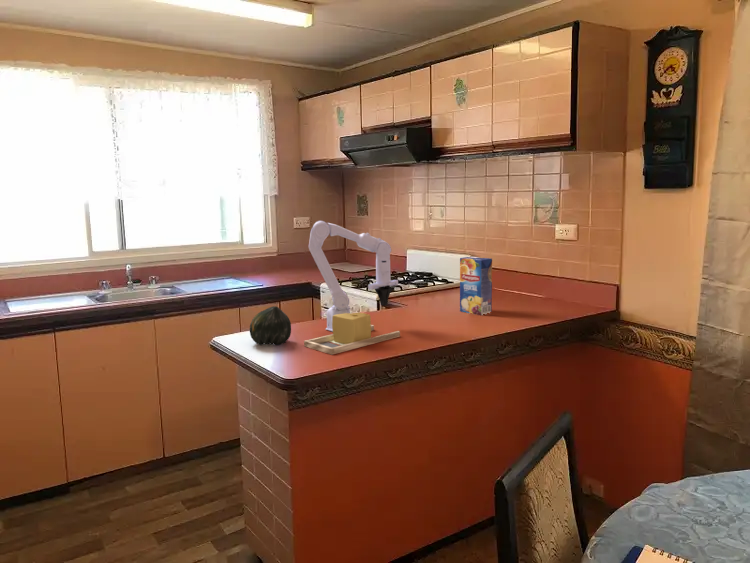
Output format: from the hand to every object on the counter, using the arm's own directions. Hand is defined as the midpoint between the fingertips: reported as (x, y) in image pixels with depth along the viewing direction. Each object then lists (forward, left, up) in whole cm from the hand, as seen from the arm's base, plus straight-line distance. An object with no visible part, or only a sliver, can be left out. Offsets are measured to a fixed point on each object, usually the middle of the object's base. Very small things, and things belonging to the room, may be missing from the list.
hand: (383, 305), depth 242 cm
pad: (+6, -22, -9) cm, 25 cm away
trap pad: (+6, -33, -9) cm, 35 cm away
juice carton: (+9, +48, -10) cm, 49 cm away
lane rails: (+6, -21, -9) cm, 24 cm away
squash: (-14, -44, -10) cm, 47 cm away
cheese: (+6, -22, -10) cm, 25 cm away
